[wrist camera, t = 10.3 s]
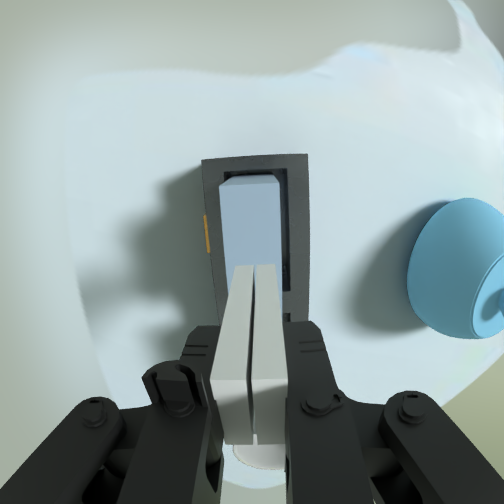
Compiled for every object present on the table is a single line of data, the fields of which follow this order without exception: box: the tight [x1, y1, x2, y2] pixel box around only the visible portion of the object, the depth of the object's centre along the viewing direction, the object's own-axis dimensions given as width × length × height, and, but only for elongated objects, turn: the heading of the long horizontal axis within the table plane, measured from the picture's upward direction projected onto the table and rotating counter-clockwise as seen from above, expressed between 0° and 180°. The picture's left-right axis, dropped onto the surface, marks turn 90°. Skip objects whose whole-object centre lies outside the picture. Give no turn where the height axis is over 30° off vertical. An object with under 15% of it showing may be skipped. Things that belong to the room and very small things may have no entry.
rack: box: [201, 154, 310, 434], centre depth 22 cm, size 23×8×11 cm, turn 4°
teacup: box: [233, 434, 286, 470], centre depth 30 cm, size 14×11×8 cm
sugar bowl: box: [407, 198, 504, 339], centre depth 21 cm, size 15×15×12 cm
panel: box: [219, 173, 282, 318], centre depth 20 cm, size 8×3×10 cm, turn 3°
